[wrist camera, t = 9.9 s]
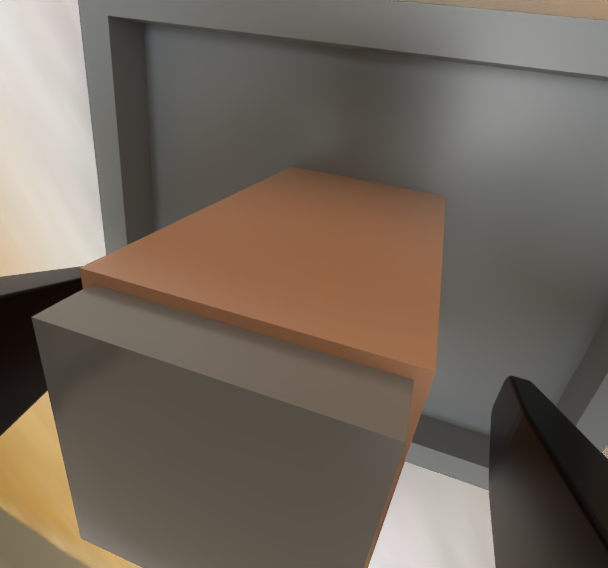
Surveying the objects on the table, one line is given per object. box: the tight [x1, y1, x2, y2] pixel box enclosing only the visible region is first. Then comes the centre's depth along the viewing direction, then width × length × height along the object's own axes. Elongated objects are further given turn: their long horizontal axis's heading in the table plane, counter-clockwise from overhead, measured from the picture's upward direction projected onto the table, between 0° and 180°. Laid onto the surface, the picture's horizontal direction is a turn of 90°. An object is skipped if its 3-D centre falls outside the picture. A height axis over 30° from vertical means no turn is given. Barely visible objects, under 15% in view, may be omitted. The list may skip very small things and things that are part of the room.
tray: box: [78, 0, 608, 490], centre depth 14 cm, size 18×14×2 cm
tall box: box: [32, 166, 446, 568], centre depth 10 cm, size 5×5×10 cm
